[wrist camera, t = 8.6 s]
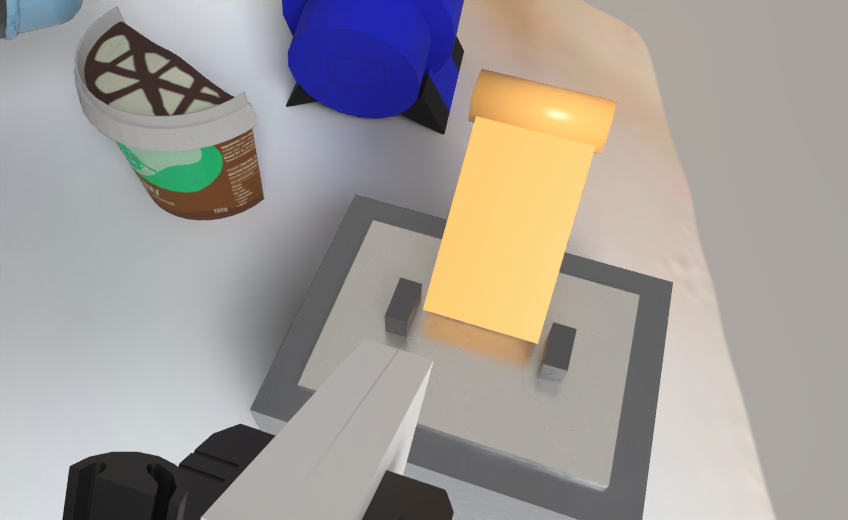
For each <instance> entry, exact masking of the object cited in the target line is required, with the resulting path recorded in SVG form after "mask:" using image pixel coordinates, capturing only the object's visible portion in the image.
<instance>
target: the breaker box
mask: <svg viewBox="0 0 848 520" xmlns="http://www.w3.org/2000/svg"><path fill="white" fill-rule="evenodd" d="M446 224H447V220H445V219H442V218H438V217H435V216H431V215H427V214H424V213H420V212H416V211H413V210H409V209H406V208H402V207H398V206H395V205H391V204H388V203H384V202H380V201H377V200H373V199H369V198H366V197H362V196H359V195H355V197H354V199H353V201H352V203H351V205H350V207H349V210H348V212H347V214H346V216H345V218H344V220H343V222H342V224H341V226H340V228H339V230H338V232H337V234H336V236H335V238H334V240H333V242H332V244H331V246H330V248H329V250H328V252H327V254H326V256H325V258H324V260H323V262H322V264H321V266H320V268H319V271H318V273H317V275H316V277H315V279H314V281H313V283H312V285H311V287H310V289H309V291H308V293H307V295H306V297H305V299H304V301H303V303H302V305H301V307H300V309H299V311H298V313H297V315H296V317H295V319H294V321H293V323H292V325H291V327H290V329H289V332H288V334H287V336H286V338H285V340H284V342H283V344H282V346H281V348H280V350H279V352H278V354H277V356H276V358H275V360H274V362H273V364H272V366H271V368H270V370H269V372H268V374H267V376H266V378H265V380H264V382H263V384H262V386H261V388H260V390H259V393H258V395H257V397H256V399H255V401H254V403H253V405H252V407H251V409H250V411H251V413H252V415H253V417H254V419H255V421H256V423H257V425H258V427H259V428H260V430H261V431H264V432H267V433H270V434H273V435H277V434H278V433H279V432H280V431H281V429H282V428H283V427H284V426H285V425H286V424H287V423H288V422H289V421H290V420H291V419H292V417H293V416H294V415H295V414H296V413H297V412H298V411H299V410H300V409H301V408H302V407H303V405H304V404H305V403H306V402H307V401H308V400H309V399H310V398H311V397H312V396H313V394H314V393H315V392H316V391H317V390H318V389H319V388H320V387H321V386H322V385H323V384H324V382H325V381H326V380H327V379H328V378H329V377H330V376H331V375H332V374H333V373H334V372H335V370H336V369H337V368H338V367H339V366H340V365H341V364H342V363H343V362H344V361H345V359H346V358H347V357H348V356H349V355H350V354H351V353H352V352H353V351H354V350H355V349H356V347H357V346H358V345H359V344H360V343H361V342H362V341H363V340H364V339H366V340H369V341H372V342H376V343H379V344H382V345H385V346H389V347H392V348H395V349H399V350H402V351H405V352H408V353H412V354H415V355H418V356H421V357H425V358H428V359H431V360H434V361H433V365H432V368H431V372H430V376H429V380H428V383H427V387H426V391H425V395H424V398H423V402H422V406H421V410H420V413H419V417H418V421H417V425H416V428H415V432H414V436H413V440H412V443H411V447H410V451H409V455H408V458H407V462H406V466H405V470H404V473H403V476H406V477H409V478H412V479H415V480H418V481H421V482H424V483H427V484H430V485H433V486H436V487H439V488H442V489H445V490H446V491H447V494H448V497H449V500H450V503H451V505H452V508H453V511H454V514H453V518H452V520H642V517H643V509H644V502H645V494H646V486H647V478H648V471H649V463H650V455H651V447H652V440H653V432H654V424H655V417H656V409H657V401H658V393H659V386H660V378H661V370H662V363H663V355H664V347H665V339H666V332H667V324H668V316H669V308H670V301H671V293H672V285H673V282H670V281H666V280H662V279H659V278H655V277H652V276H648V275H644V274H641V273H637V272H634V271H630V270H626V269H623V268H619V267H615V266H612V265H608V264H605V263H601V262H597V261H594V260H590V259H587V258H583V257H579V256H576V255H572V254H568V253H565V252H564V256H563V259H562V263H561V266H560V270H559V273H558V276H557V280H556V283H555V287H554V290H553V293H552V297H551V300H550V304H549V307H548V311H547V314H546V317H545V321H544V324H543V328H542V331H541V334H540V338H539V341H538V344H536V343H533V342H530V341H526V340H523V339H520V338H516V337H513V336H510V335H506V334H503V333H500V332H496V331H493V330H489V329H486V328H483V327H479V326H476V325H473V324H469V323H466V322H463V321H459V320H456V319H453V318H449V317H446V316H443V315H439V314H436V313H433V312H429V311H426V310H423V307H424V304H425V300H426V296H427V293H428V289H429V285H430V282H431V278H432V274H433V271H434V267H435V264H436V260H437V256H438V253H439V249H440V245H441V242H442V238H443V234H444V231H445V227H446Z"/></svg>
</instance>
